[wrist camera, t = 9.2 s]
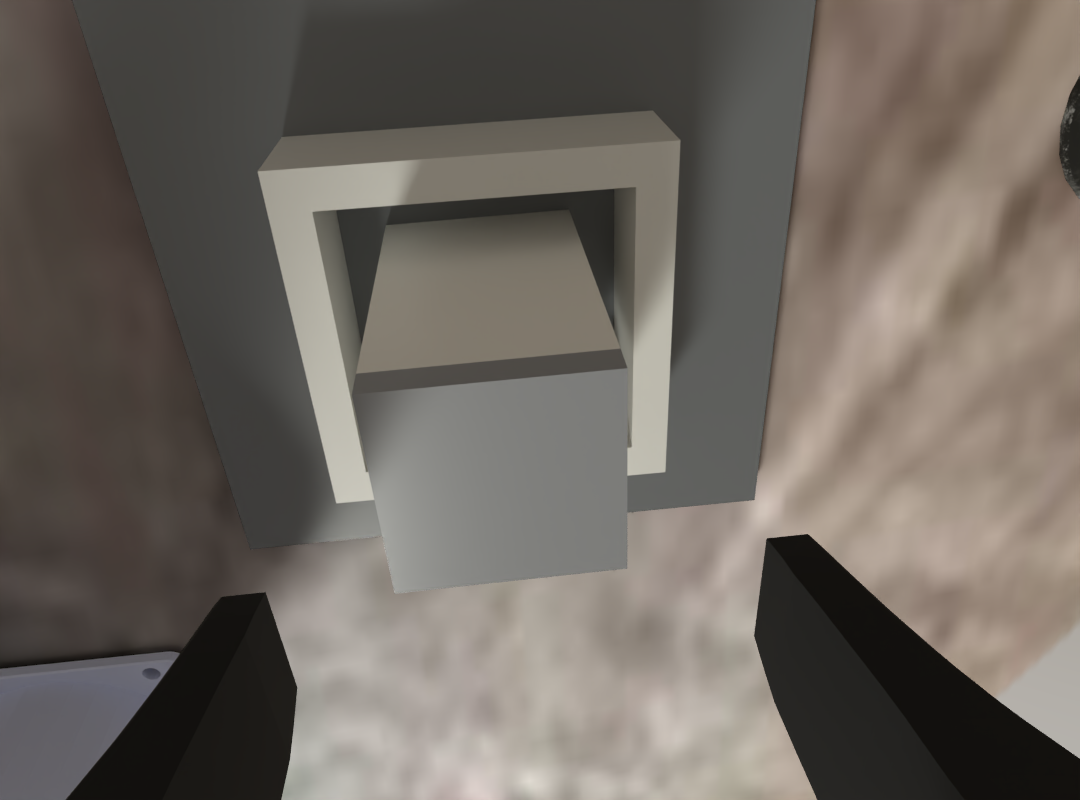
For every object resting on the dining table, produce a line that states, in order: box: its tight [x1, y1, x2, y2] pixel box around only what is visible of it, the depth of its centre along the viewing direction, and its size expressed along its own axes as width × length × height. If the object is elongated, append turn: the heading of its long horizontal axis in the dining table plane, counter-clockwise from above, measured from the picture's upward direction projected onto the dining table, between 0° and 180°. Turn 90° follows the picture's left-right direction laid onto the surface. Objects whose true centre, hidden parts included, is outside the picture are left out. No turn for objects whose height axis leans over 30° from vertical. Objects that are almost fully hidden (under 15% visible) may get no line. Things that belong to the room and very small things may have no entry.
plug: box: [352, 209, 628, 593], centre depth 16 cm, size 4×4×7 cm
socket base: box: [72, 0, 816, 549], centre depth 18 cm, size 14×14×3 cm
